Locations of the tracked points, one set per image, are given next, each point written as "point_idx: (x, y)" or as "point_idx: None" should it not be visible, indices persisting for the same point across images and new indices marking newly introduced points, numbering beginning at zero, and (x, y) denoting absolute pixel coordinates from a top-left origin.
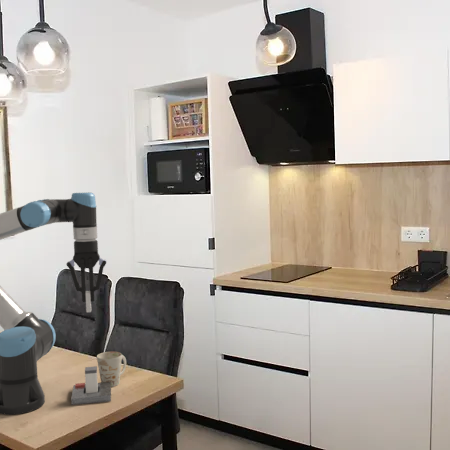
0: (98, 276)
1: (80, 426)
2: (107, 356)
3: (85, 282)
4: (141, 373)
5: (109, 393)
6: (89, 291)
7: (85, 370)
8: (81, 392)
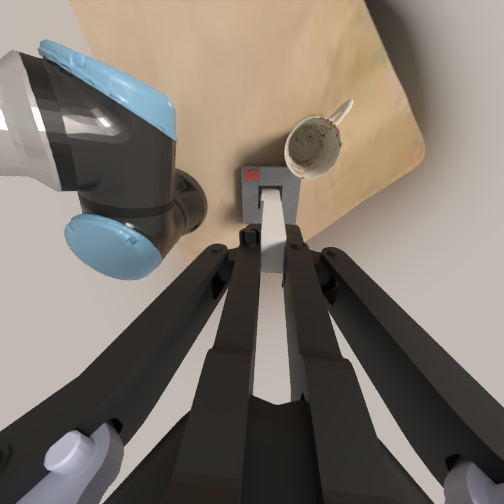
0: (357, 349)
1: None
2: (309, 121)
3: (258, 282)
4: (375, 91)
5: (294, 218)
6: (280, 250)
7: (261, 219)
8: (255, 204)
